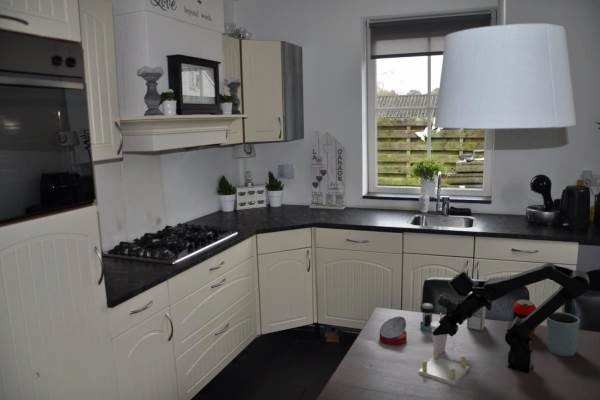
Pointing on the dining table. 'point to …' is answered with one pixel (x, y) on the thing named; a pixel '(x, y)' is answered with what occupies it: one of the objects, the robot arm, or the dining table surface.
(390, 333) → the canned food
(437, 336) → the smoothie
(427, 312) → the push button
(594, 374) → the dining table surface
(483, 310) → the syrup box
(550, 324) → the teal cylindrical pot
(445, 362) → the pin plate
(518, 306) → the soda can
